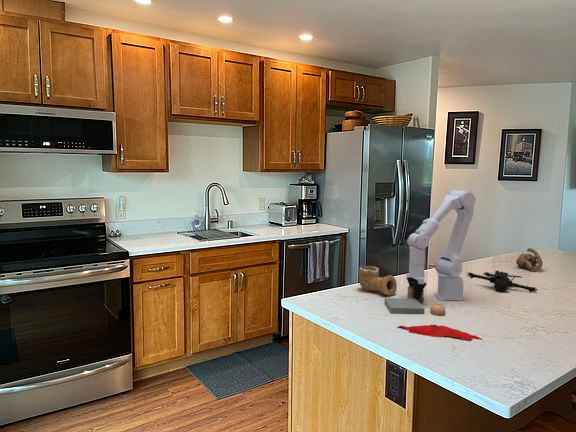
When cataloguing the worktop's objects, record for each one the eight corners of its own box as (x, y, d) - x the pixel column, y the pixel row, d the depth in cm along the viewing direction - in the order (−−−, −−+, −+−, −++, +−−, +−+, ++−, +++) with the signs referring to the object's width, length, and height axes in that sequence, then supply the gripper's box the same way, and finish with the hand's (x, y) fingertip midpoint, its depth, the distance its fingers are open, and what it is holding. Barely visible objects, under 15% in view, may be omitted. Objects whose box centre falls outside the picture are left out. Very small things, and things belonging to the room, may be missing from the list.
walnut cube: (419, 298, 173) (420, 286, 172) (423, 302, 168) (423, 290, 167) (407, 298, 173) (407, 286, 172) (410, 302, 168) (410, 290, 167)
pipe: (386, 298, 172) (387, 274, 171) (353, 290, 184) (354, 267, 183) (397, 294, 179) (398, 270, 178) (365, 286, 190) (366, 264, 189)
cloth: (486, 336, 136) (487, 329, 136) (480, 351, 124) (480, 344, 124) (405, 320, 150) (406, 314, 149) (392, 332, 138) (393, 325, 138)
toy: (468, 273, 216) (463, 284, 189) (471, 259, 215) (466, 269, 188) (533, 288, 203) (537, 303, 176) (536, 274, 202) (541, 286, 175)
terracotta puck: (442, 311, 158) (442, 303, 157) (446, 316, 153) (447, 308, 152) (428, 311, 158) (428, 303, 157) (432, 315, 153) (432, 307, 152)
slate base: (415, 303, 166) (415, 298, 166) (424, 313, 154) (424, 308, 154) (384, 303, 166) (384, 298, 166) (390, 313, 155) (391, 307, 154)
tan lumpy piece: (519, 273, 235) (538, 274, 220) (507, 263, 234) (526, 264, 219) (531, 255, 237) (551, 255, 222) (519, 245, 236) (538, 244, 222)
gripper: (402, 259, 176) (401, 291, 177) (411, 267, 161) (409, 302, 163) (419, 259, 176) (418, 292, 177) (430, 267, 161) (428, 302, 163)
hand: (415, 297), depth 170 cm, fingers closed on walnut cube, 5 cm apart
